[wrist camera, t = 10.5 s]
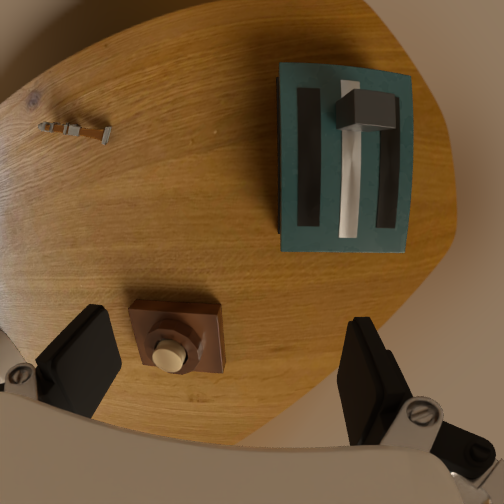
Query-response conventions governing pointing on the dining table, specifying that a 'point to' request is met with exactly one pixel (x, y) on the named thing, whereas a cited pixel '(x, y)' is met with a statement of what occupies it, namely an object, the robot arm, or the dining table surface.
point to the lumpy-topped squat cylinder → (8, 355)
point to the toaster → (341, 163)
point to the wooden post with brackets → (76, 130)
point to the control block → (181, 332)
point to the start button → (169, 355)
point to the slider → (366, 111)
